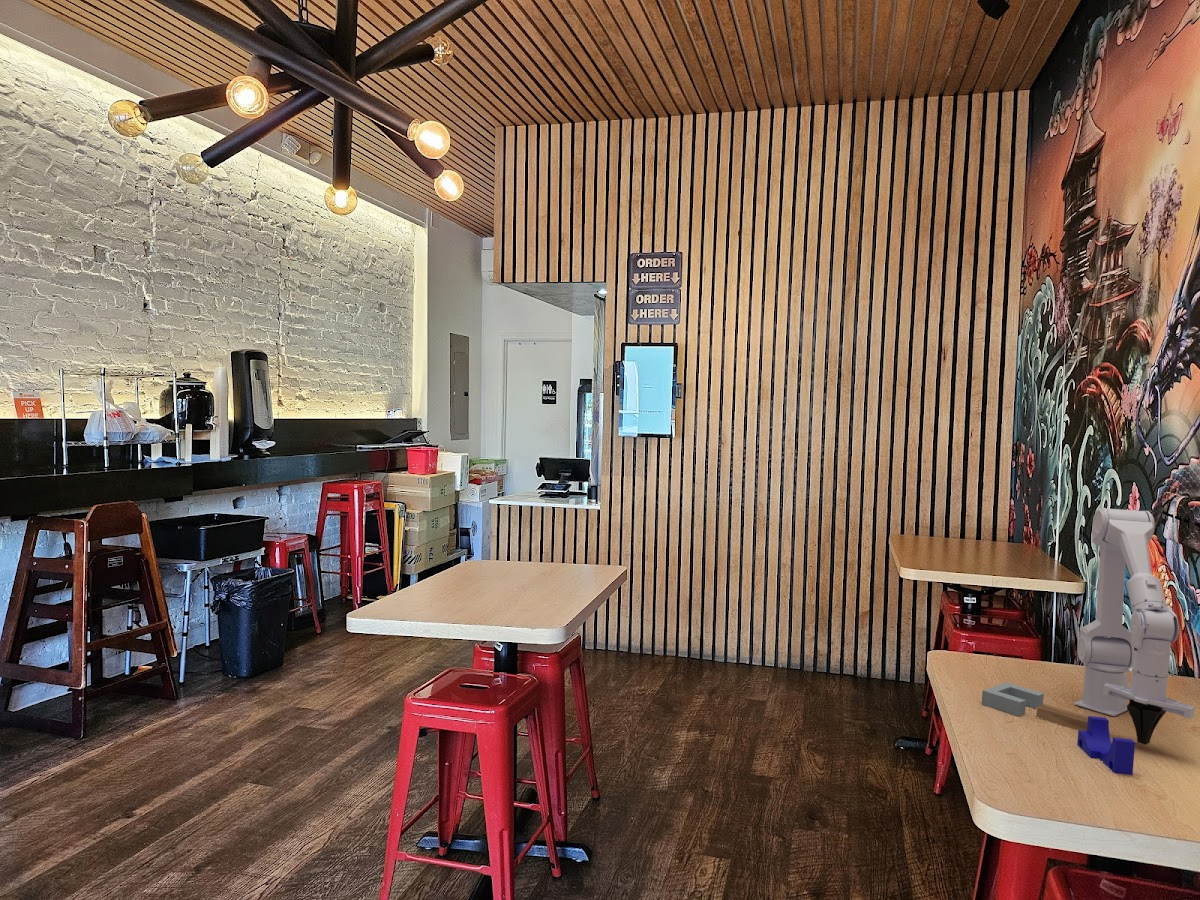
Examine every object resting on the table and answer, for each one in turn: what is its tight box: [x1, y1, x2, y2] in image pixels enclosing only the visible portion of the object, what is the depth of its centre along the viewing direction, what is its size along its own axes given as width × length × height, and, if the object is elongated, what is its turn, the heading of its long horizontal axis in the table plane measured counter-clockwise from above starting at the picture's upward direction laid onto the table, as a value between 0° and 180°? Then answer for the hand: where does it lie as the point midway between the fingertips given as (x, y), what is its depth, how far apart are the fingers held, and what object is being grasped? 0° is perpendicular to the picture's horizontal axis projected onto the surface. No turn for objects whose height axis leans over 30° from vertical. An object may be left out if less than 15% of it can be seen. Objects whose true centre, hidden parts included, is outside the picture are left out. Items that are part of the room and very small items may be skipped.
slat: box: [1035, 703, 1089, 731], centre depth 165 cm, size 4×12×2 cm, turn 41°
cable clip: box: [1076, 715, 1136, 776], centre depth 148 cm, size 12×4×6 cm, turn 170°
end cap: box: [981, 682, 1045, 717], centre depth 175 cm, size 11×8×3 cm
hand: (1143, 742), depth 155 cm, fingers closed
